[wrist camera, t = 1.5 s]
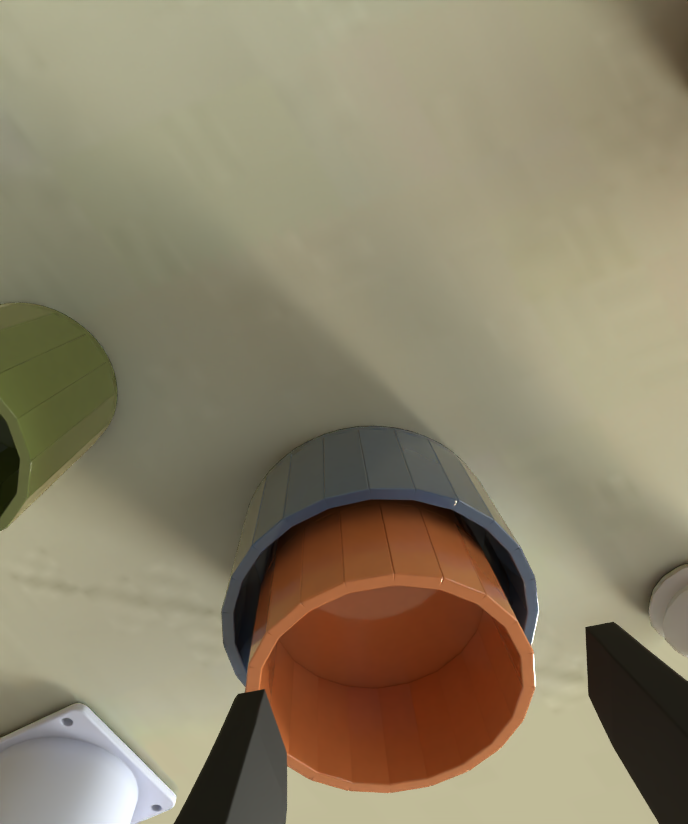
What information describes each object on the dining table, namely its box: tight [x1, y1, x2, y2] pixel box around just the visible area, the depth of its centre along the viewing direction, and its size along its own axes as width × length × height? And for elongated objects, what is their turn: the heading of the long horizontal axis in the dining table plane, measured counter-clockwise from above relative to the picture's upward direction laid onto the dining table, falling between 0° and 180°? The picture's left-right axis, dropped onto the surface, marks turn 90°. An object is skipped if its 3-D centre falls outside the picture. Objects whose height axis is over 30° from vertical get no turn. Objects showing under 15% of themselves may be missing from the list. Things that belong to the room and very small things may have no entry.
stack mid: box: [245, 500, 536, 793], centre depth 18 cm, size 8×8×8 cm
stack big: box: [221, 426, 539, 687], centre depth 19 cm, size 10×10×5 cm
